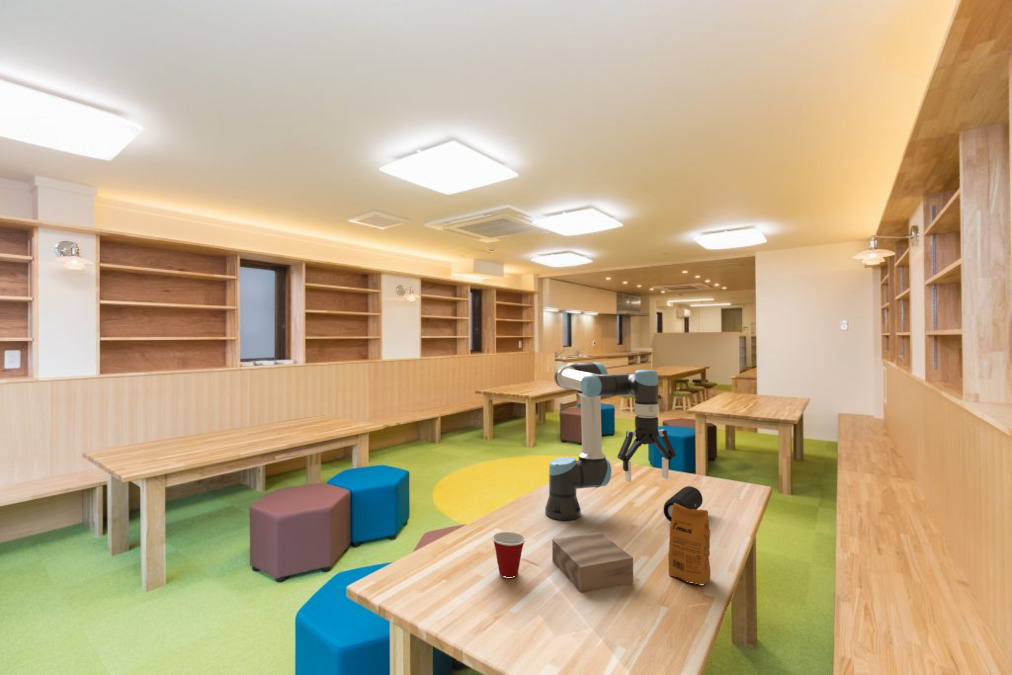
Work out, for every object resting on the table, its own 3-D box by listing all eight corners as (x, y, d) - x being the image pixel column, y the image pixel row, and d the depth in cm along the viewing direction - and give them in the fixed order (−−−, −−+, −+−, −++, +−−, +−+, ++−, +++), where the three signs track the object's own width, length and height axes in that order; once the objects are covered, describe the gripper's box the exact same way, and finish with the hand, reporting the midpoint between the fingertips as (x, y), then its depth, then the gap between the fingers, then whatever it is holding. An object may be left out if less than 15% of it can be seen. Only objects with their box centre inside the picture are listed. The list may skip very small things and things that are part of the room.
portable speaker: (686, 528, 181) (686, 503, 181) (661, 522, 187) (661, 498, 187) (704, 509, 201) (704, 487, 201) (681, 504, 207) (681, 482, 207)
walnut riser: (552, 563, 153) (552, 539, 153) (599, 555, 158) (599, 531, 158) (580, 594, 134) (580, 567, 134) (633, 583, 139) (632, 557, 139)
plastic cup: (533, 573, 146) (532, 535, 146) (511, 586, 138) (510, 547, 138) (507, 562, 153) (507, 526, 153) (485, 574, 145) (485, 537, 145)
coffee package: (675, 564, 152) (675, 497, 152) (714, 576, 143) (714, 506, 143) (663, 575, 144) (662, 505, 144) (703, 589, 136) (702, 515, 136)
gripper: (617, 419, 147) (617, 485, 147) (686, 416, 152) (686, 480, 152) (607, 415, 154) (607, 478, 154) (673, 412, 159) (674, 473, 159)
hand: (646, 479), depth 153 cm, fingers open, 13 cm apart
